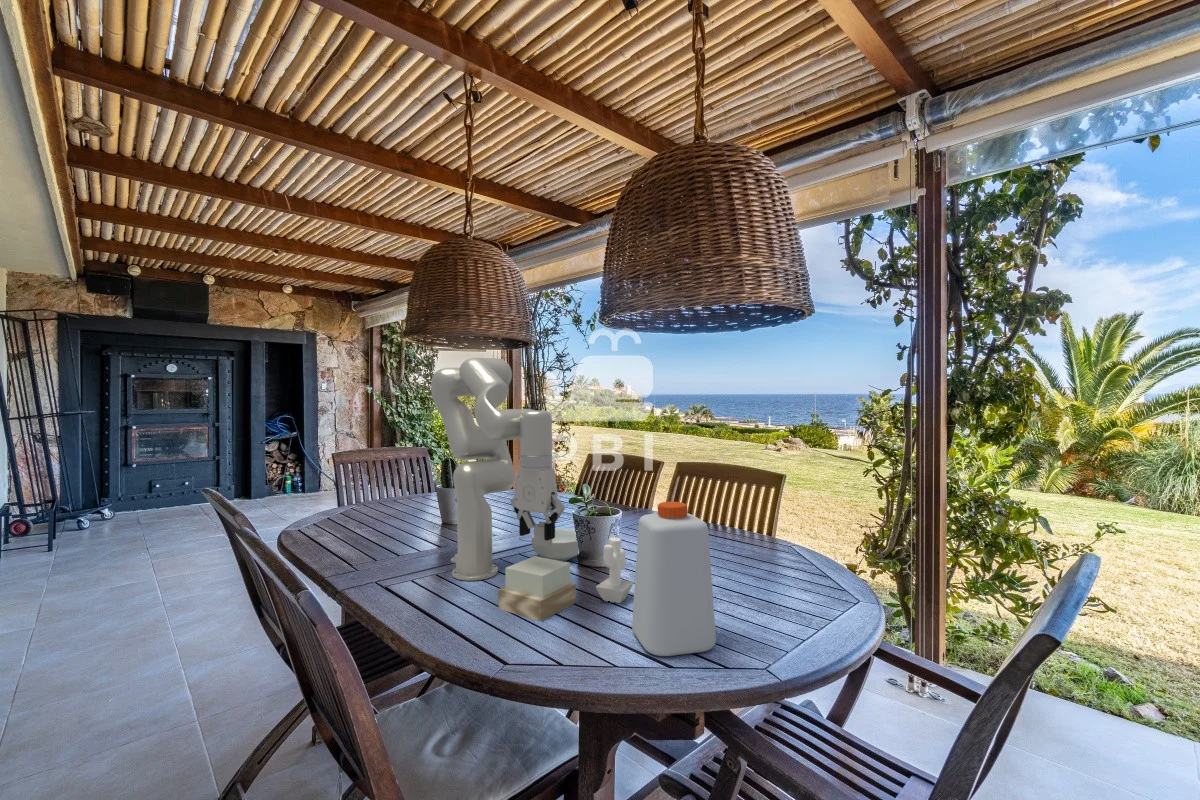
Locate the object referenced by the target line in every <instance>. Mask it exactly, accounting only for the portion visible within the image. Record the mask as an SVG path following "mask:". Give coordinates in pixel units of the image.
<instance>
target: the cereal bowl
mask: <svg viewBox="0 0 1200 800" xmlns="http://www.w3.org/2000/svg"><path fill="white" fill-rule="evenodd" d="M531 545H532V549H533V550H534V552H535V553H536V554H537V555H539V556H540V557H542V558H547V559H552V560H557V561H562V562H567V561H568V560H570V559H572V558H574V557H576V556H578V555H579V554H578V541H576V532H575V529H568V528H555V538H554V539H552V545H534V533H532V535H531Z"/></svg>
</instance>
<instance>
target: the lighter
mask: <svg viewBox="0 0 1200 800" xmlns="http://www.w3.org/2000/svg"><path fill="white" fill-rule="evenodd" d="M522 516H523V518H524V520H525V522H526V524H527V526H528V528H529V529H530V530H531V528H533V534H534V545H552V539H551V540H548V541H546V540H545V539H544V524H545V523H547V522H546V521H539V522H538V524H536V523H535V520H534V519H533V516H532V514H531V511H530V512H529V511H524V512H522Z"/></svg>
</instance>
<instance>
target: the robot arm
mask: <svg viewBox="0 0 1200 800" xmlns="http://www.w3.org/2000/svg"><path fill="white" fill-rule="evenodd" d="M512 377H513V373H512V368H511V366H510V364H509V363H508V362H507V361H506V360H504V359H503V358H497V357H496V358H495V357H472V358H468V359H466V360H464V361H463V362H462V363H461V364H460V366H459V367H446V368H445V367H444V368H440V369H438V370H437V371H435V372H434V373H433V375H432V377H431V383H430V391H431V397H432V400H433V403H434V405H435V407H436V409H437V411H438V412H439V415H440V417H441V419H442V421H443V425H444V430H445V433H446V437H447V440H448V445H449V447H450V451H451V454H452V455H453V457H454V458H455V459H456V460H459V461H467V462H463V463H461V464H460V465H458V466H456V468H455V469H454V471H453V475H452V479H453V486H454V487H453V488H454V493H455V499H456V515H457V517H456V518H457V521H456V522H457V525H456V526H457V530H456V531H457V553H455V554H454V557H451V559H450V562H451V563H452V564H453V563H454V564H455V568H453V569H452V572H451V576H452V577H453V578H454V579H456V580H459V581H466V582H467V581H469V582H470V581H480V580H481V581H482V580H486V579H489V578H492V577H494V576H497V574H498V572H499V567H498V566H497V565H495V564H493V511H492V507H491V505H490V503H489V502H488V501H487V499H486V498H485V497H484V496H485V495H489V494H495V493H503V492H508V491H509V490H511V489H512V488H513V487H514V496H513V497H512V498H511V499H510V504H511V506H512V507H513V511H514V512H515V514H516V518H517V519H519V520H518V521H519V525H518V527H519V530H518V531H519V532H518V533H519V536H521V537H523V536H527V535H529V534H531V528H530V529H529V528H528V526H527V524H526V522H525V520H524V518H523V516H522V512H524V511H529V512H530V513H532V512H533V513H539V514H541V513H542V515H543V517H544V520H545V522H547V523H545V524H544V539H545V540H546V541H548V540H551V539H554V538H555V529H556V522H558V519H559V518H560V517H561V515H562V514H563V512H564V511H565V509H566V506H565V505H564V504H563V503H562V501H561V500H560V499H559V498H558V486H557V485H558V484H557V478H556V473H555V468H553V421H552V420H553V419H552V414H551V412H549V411H548V410H535V409H532V408H509V409H508V408H506V409H503V408H502V409H497V408H498V407H499V406H501V405H502V404H503V403H504V402H505V401H507V397H508V395H509V387H508V386H509V385H510V383H511V381H512ZM459 397H474V398H475V399H476V400H475V402H474V416H475V417H474V416H473V413H472V410H471V409H470V408H469V407H468V406H467V405H466V403H465V402H463V400H461V399H459ZM474 418H475V419H474ZM475 421H476V422H475ZM476 423H477V424H476ZM511 440H513V441H514V440H519V444H520V445H519V446H520V447H519V450H520V452H519V453H520V455H519V456H518V460H517V461H518V462H520V466H519V467H518V468H517V472H516V473H515V468H514V464H513V461H512V458H511V454H510V450H509V448H508V444H507V441H511ZM482 459H483V460H482ZM484 459H485V460H484ZM471 460H473V461H471ZM514 485H515V486H514Z"/></svg>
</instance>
